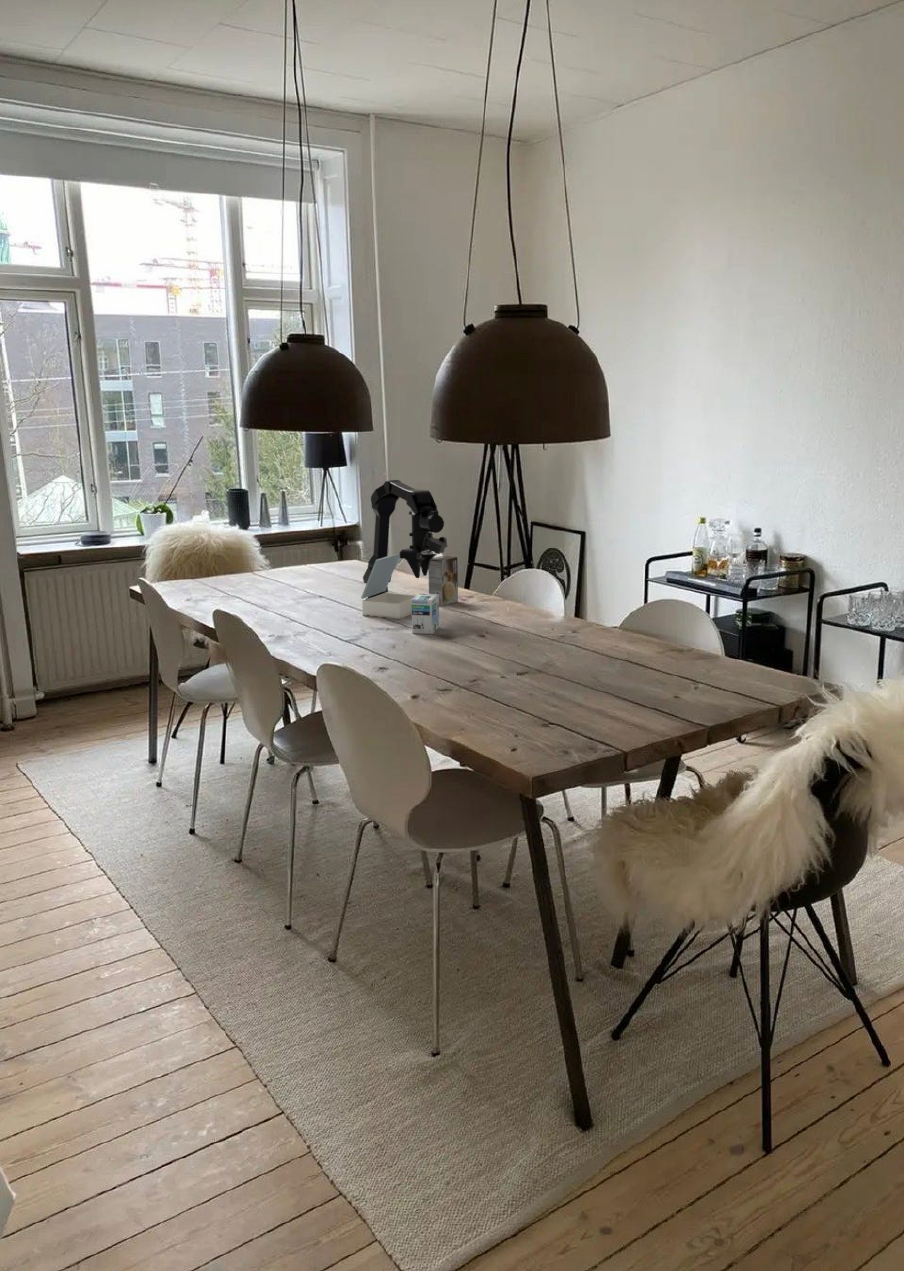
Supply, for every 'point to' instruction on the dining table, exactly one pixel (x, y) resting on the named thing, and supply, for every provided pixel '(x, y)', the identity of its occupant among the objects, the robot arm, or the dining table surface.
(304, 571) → the dining table surface
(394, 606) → the open box
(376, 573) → the lid flap
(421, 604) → the light bulb box
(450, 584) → the coffee box
